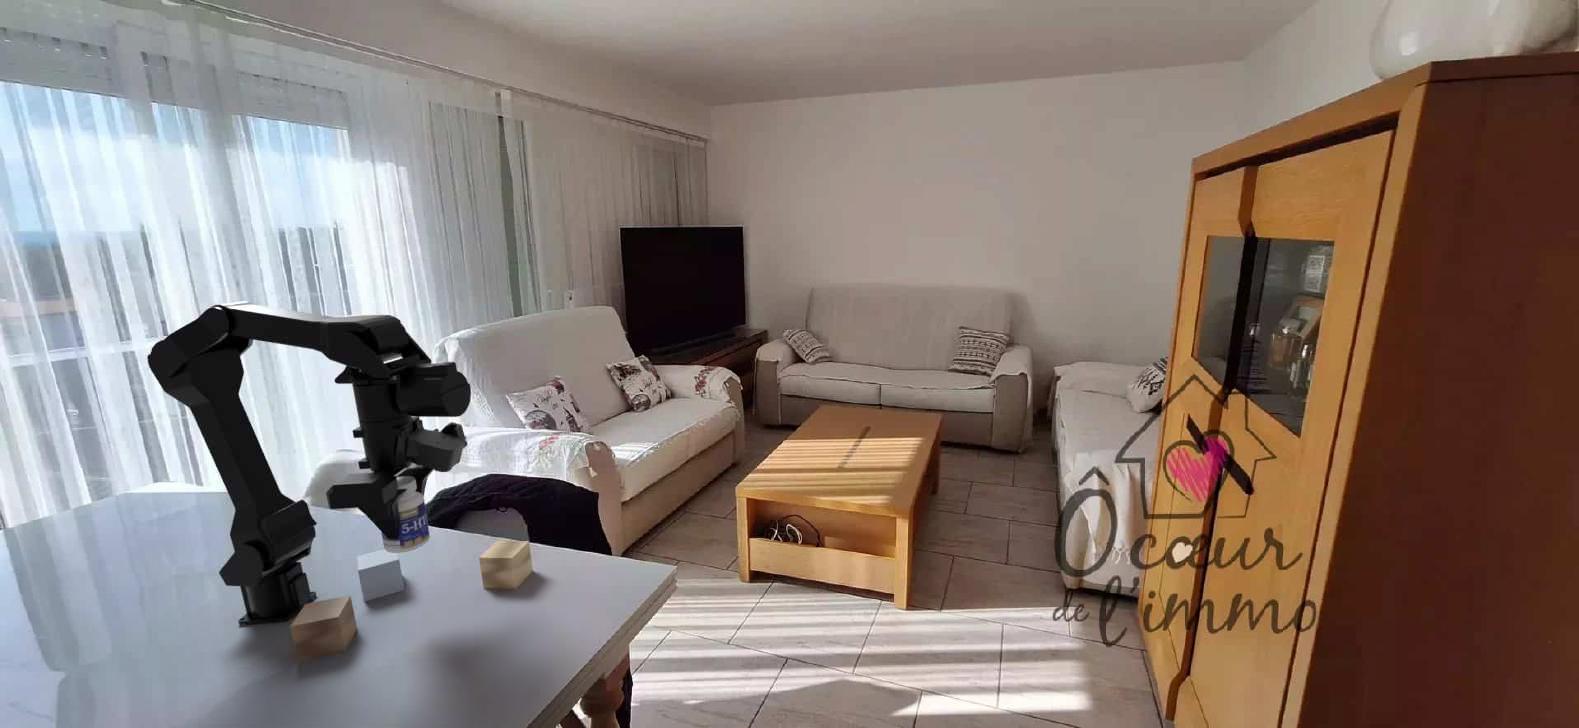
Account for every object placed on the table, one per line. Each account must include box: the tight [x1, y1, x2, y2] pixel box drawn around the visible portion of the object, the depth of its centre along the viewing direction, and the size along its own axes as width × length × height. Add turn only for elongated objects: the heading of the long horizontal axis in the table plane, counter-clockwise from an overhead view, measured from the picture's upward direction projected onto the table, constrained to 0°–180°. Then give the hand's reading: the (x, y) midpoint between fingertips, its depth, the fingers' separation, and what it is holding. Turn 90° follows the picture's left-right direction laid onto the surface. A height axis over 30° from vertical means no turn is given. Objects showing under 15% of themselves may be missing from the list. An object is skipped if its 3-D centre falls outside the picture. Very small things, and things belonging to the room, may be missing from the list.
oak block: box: [478, 540, 534, 590], centre depth 95 cm, size 5×5×5 cm
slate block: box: [356, 548, 405, 602], centre depth 93 cm, size 5×5×5 cm
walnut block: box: [289, 594, 358, 663], centre depth 81 cm, size 5×5×5 cm
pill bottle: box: [380, 476, 430, 554], centre depth 84 cm, size 5×5×9 cm
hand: (405, 528), depth 84 cm, fingers closed on pill bottle, 5 cm apart
